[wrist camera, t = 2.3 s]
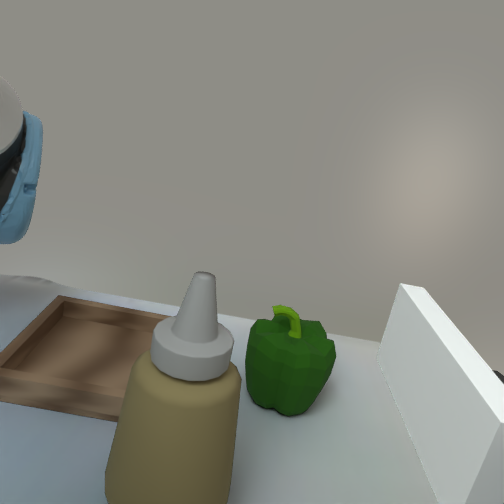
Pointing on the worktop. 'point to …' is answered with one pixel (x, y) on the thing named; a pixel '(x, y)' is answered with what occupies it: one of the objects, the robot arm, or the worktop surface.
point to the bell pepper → (287, 361)
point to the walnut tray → (76, 357)
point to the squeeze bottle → (179, 411)
